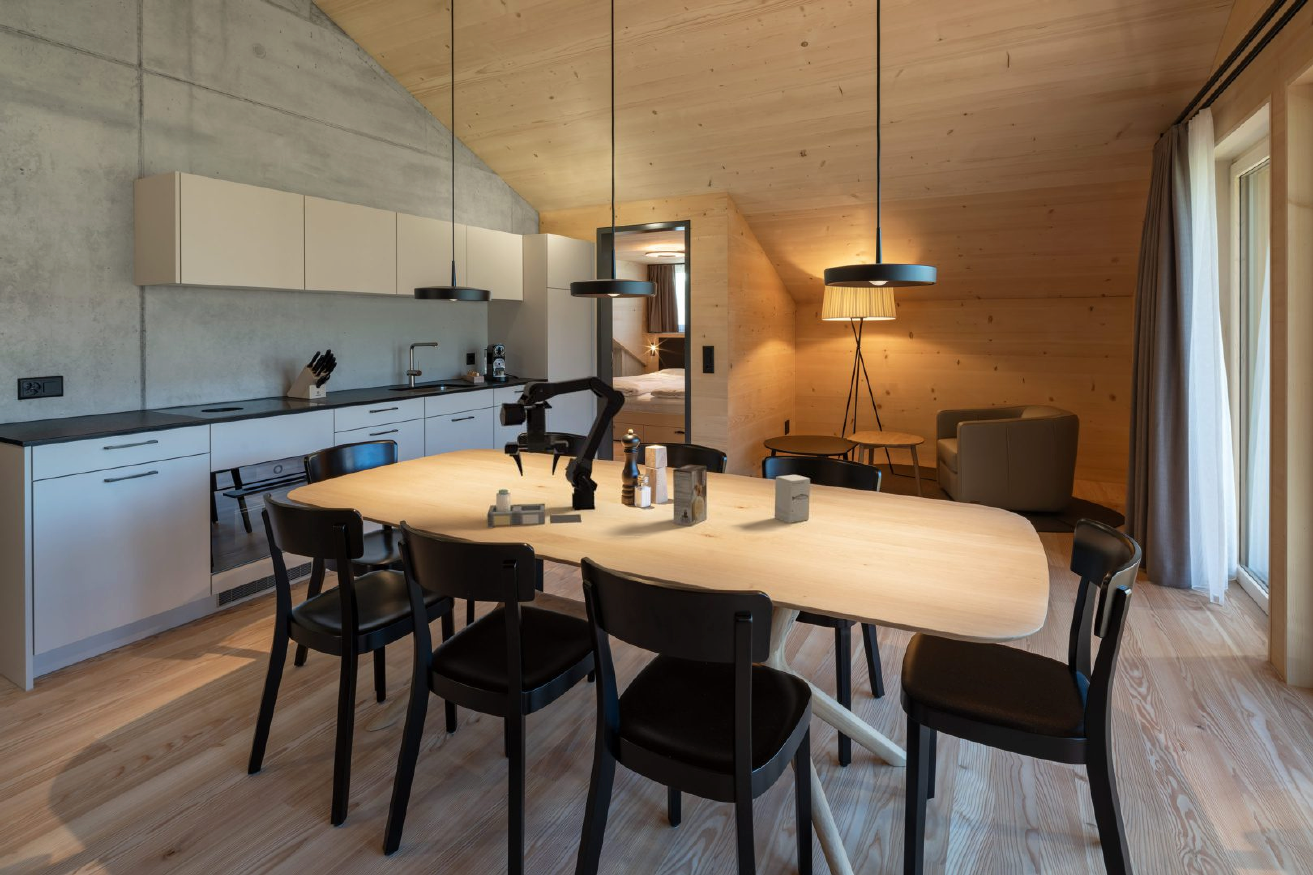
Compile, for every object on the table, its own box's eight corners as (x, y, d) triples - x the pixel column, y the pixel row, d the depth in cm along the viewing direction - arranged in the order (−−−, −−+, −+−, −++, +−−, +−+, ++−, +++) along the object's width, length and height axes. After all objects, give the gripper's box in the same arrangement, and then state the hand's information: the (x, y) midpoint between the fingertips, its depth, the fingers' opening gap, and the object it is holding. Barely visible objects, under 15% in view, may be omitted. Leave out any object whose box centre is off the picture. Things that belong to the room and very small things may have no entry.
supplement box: (789, 523, 212) (790, 480, 210) (773, 517, 219) (774, 476, 217) (809, 520, 215) (810, 478, 214) (793, 514, 222) (794, 473, 220)
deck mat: (580, 515, 222) (580, 514, 222) (581, 523, 213) (581, 522, 213) (550, 516, 221) (550, 515, 221) (550, 524, 212) (550, 523, 212)
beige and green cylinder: (511, 518, 217) (510, 488, 215) (509, 522, 213) (509, 491, 211) (497, 518, 216) (497, 488, 215) (495, 522, 212) (495, 491, 211)
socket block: (545, 516, 221) (544, 503, 221) (544, 525, 211) (544, 512, 210) (490, 518, 219) (490, 505, 218) (487, 527, 209) (487, 514, 208)
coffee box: (688, 516, 221) (688, 463, 218) (707, 519, 217) (707, 465, 215) (672, 523, 213) (672, 468, 210) (692, 526, 209) (692, 471, 207)
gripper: (502, 428, 210) (504, 482, 213) (568, 427, 213) (569, 480, 215) (504, 423, 221) (506, 474, 224) (567, 422, 224) (568, 472, 226)
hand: (537, 475), depth 222 cm, fingers open, 9 cm apart
